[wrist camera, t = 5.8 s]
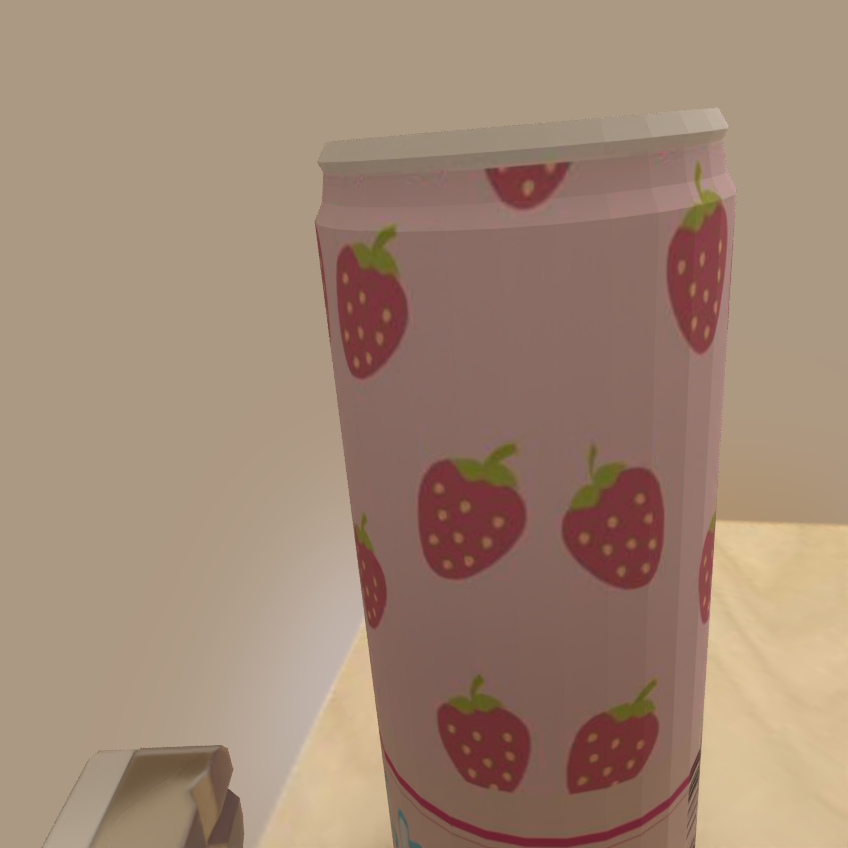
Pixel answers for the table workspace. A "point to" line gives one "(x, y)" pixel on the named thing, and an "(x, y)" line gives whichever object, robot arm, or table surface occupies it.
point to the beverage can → (534, 466)
